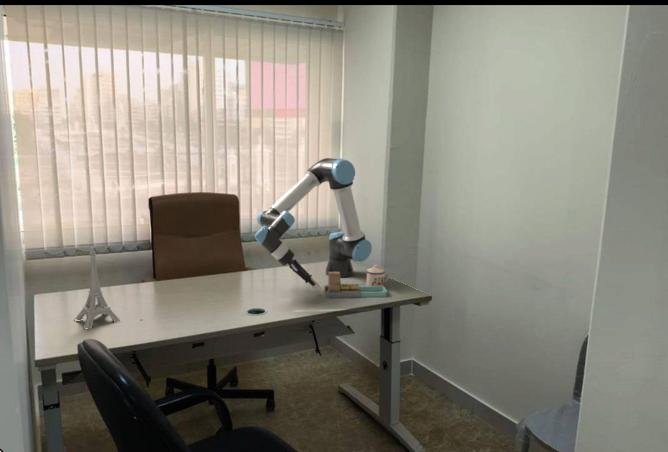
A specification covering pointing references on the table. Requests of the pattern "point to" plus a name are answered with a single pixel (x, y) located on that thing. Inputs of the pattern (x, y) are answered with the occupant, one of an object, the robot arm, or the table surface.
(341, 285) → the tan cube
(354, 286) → the yellow cube
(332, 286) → the block
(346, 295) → the slot board
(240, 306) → the table surface
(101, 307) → the eiffel tower
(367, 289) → the tray
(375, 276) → the teacup with lid
